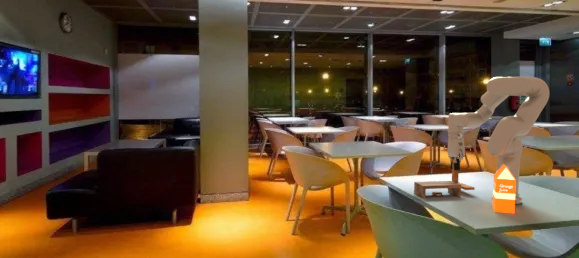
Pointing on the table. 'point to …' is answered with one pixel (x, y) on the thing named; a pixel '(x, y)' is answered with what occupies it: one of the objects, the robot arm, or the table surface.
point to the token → (436, 193)
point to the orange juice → (504, 191)
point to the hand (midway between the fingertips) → (455, 169)
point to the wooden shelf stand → (437, 187)
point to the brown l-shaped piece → (455, 178)
